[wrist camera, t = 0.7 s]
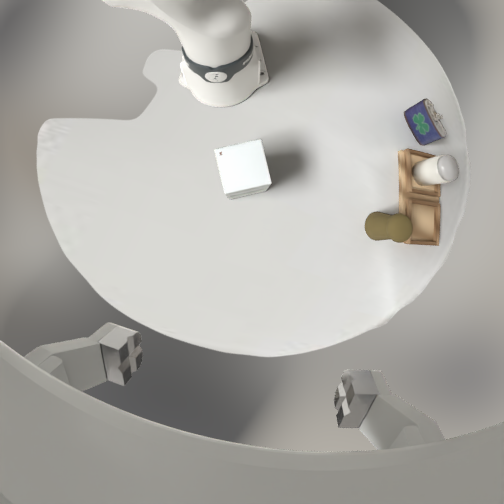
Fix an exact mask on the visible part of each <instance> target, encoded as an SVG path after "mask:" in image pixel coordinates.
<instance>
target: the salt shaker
mask: <svg viewBox="0 0 504 504" xmlns="http://www.w3.org/2000/svg"><path fill="white" fill-rule="evenodd" d="M458 174H459V168H458V164H457V162H456V160H455V159H454V158H453V157H452V156H451V155H439V156H436V157H432V158H429V159H425V160H422V161H418V162H416V163H415V164H414V165H413V167H412V176H413V178H414V180H415V182H416V183H417V184H418V185H420V186H428V185H435V184H442V183H449V182H451V181H452V180H455V179H456V178H457V177H458Z"/></svg>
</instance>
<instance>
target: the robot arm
mask: <svg viewBox="0 0 504 504" xmlns="http://www.w3.org/2000/svg"><path fill="white" fill-rule="evenodd" d="M102 1H103V2H104V3H106V4H107V5H109V6H111V7H114V8H128V9H134V10H138V11H142V12H145V13H148V14H150V15H153V16H155V17H157V18H159V19H161V20H162V21H164V22H165V23H167V24H168V25H169V26H171V27H172V28H173V29H174V30H175V32H176V34H177V35H178V37H179V39H180V41H181V43H182V53H183V55H182V59H183V61H182V62H181V63H180V66H181V70H182V72H181V74H180V77H179V83H180V84H181V85H182V86H184V87H186V88H188V89H189V90H190V91H191V93H192V94H193V95H194V97H195V98H196V99H197V100H199V101H200V102H202V103H204V104H206V105H209V106H213V107H228V106H233V105H236V104H238V103H241V102H242V101H244V100H246V99H247V98H248V97H249V96H250V95H251V94H252V93H253V92H254V91H255V90H256V89H257V88H259V87H261V86H263V85H265V84H266V83H268V81H269V77H268V73H267V69H266V64H265V60H264V56H263V53H262V49H261V45H260V41H259V37H258V34H257V33H256V32H254V31H252V30H251V12H250V10H249V8H248V7H247V5H246V4H245V3H244V2H243V1H242V0H102ZM260 74H264V75H260ZM141 341H142V340H141V334H140V333H139V332H137V331H134V330H131V329H128V328H125V327H122V326H119V325H116V324H113V323H106V324H105V325H104V326H102V327H101V328H100V329H98V330H97V331H96V332H95V333H94V334H92V335H91V336H90V337H88V338H85V337H84V338H79V339H74V340H69V341H64V342H58V343H53V344H47V345H42V346H38V347H37V348H36V349H34V350H33V351H31V352H30V353H29V354H27V355H26V356H25V357H22V356H21V355H19V354H18V353H17V352H15V351H14V350H13V349H11V348H10V347H8V346H7V345H6V344H5V343H3V342H2V341H1V340H0V504H504V422H502V423H499V424H496V425H494V426H491V427H488V428H485V429H482V430H479V431H476V432H472V433H469V434H465V435H462V436H458V437H454V438H450V439H446V440H445V438H444V436H443V434H442V432H441V430H440V428H439V426H438V424H437V422H436V421H434V420H433V419H431V418H430V417H428V416H427V415H425V414H424V413H422V412H421V411H419V410H418V409H416V408H415V407H413V406H412V405H410V404H409V403H407V402H406V401H404V400H403V399H401V398H400V397H399V396H397V395H392V392H391V390H390V388H389V386H388V384H387V381H386V379H385V377H384V375H383V373H382V371H380V370H347V369H346V370H344V372H343V374H342V377H341V379H342V383H341V384H340V385H338V387H337V390H336V392H335V398H334V404H335V408H336V409H337V410H338V414H337V415H336V416H337V422H338V427H340V428H359V430H360V431H361V432H362V433H363V434H364V436H365V437H366V438H367V439H368V440H369V441H370V442H371V443H372V444H373V445H374V446H375V448H376V449H377V450H372V451H353V452H313V451H295V450H284V449H274V448H266V447H258V446H252V445H245V444H239V443H234V442H228V441H223V440H218V439H214V438H209V437H205V436H200V435H197V434H193V433H189V432H185V431H182V430H178V429H175V428H172V427H168V426H165V425H162V424H159V423H156V422H153V421H150V420H147V419H144V418H141V417H139V416H136V415H133V414H131V413H128V412H126V411H123V410H121V409H118V408H116V407H114V406H111V405H109V404H107V403H104V402H102V401H100V400H98V399H96V398H94V397H91V396H89V395H87V394H85V393H83V392H82V391H84V390H86V389H88V388H91V387H93V386H96V385H98V384H100V383H103V382H105V381H107V380H109V381H112V382H115V383H117V384H120V385H123V386H125V385H126V384H127V382H128V381H129V380H130V379H131V377H132V374H131V372H134V371H137V370H138V368H139V367H140V365H141V362H142V357H143V352H142V349H141V348H140V346H139V344H140V343H141Z"/></svg>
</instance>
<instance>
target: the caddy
mask: <svg viewBox="0 0 504 504" xmlns="http://www.w3.org/2000/svg"><path fill="white" fill-rule="evenodd" d="M432 157H436V156H435V155H431V154H428V153H424V152H420V151H416V150H412V149H405V150H404V151H403V150H400V151H398V162H399V214H404V215H406V216H407V217H409V219H410V220H411V222H412V226H413V231H412V234H411V236H410V238H409V239H408V240H407V241H405V242H404V243H405V244H418V245H437V246H439V233H440V204H439V197H440V184H435V185H428V186H420V185H418V184H417V183H416V182H415V180H414V178H413V176H412V167H413V165H414V164H415V163H416V162H418V161H422V160H425V159H429V158H432Z"/></svg>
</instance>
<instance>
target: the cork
mask: <svg viewBox="0 0 504 504" xmlns="http://www.w3.org/2000/svg"><path fill="white" fill-rule="evenodd" d="M365 231H366V233H367V235H368V236H369V237H370V238H371V239H373V240H387V239H392V240H393V241H395V242H405V241H407V240H408V239H409V238H410V236H411V234H412V231H413V226H412V222H411V220H410V219H409V217H407V216H406V215H404V214H394V215H389V214H385V213H381V212H373V213H371V214H370V215H369V216H368V217H367V219H366V222H365Z"/></svg>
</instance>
